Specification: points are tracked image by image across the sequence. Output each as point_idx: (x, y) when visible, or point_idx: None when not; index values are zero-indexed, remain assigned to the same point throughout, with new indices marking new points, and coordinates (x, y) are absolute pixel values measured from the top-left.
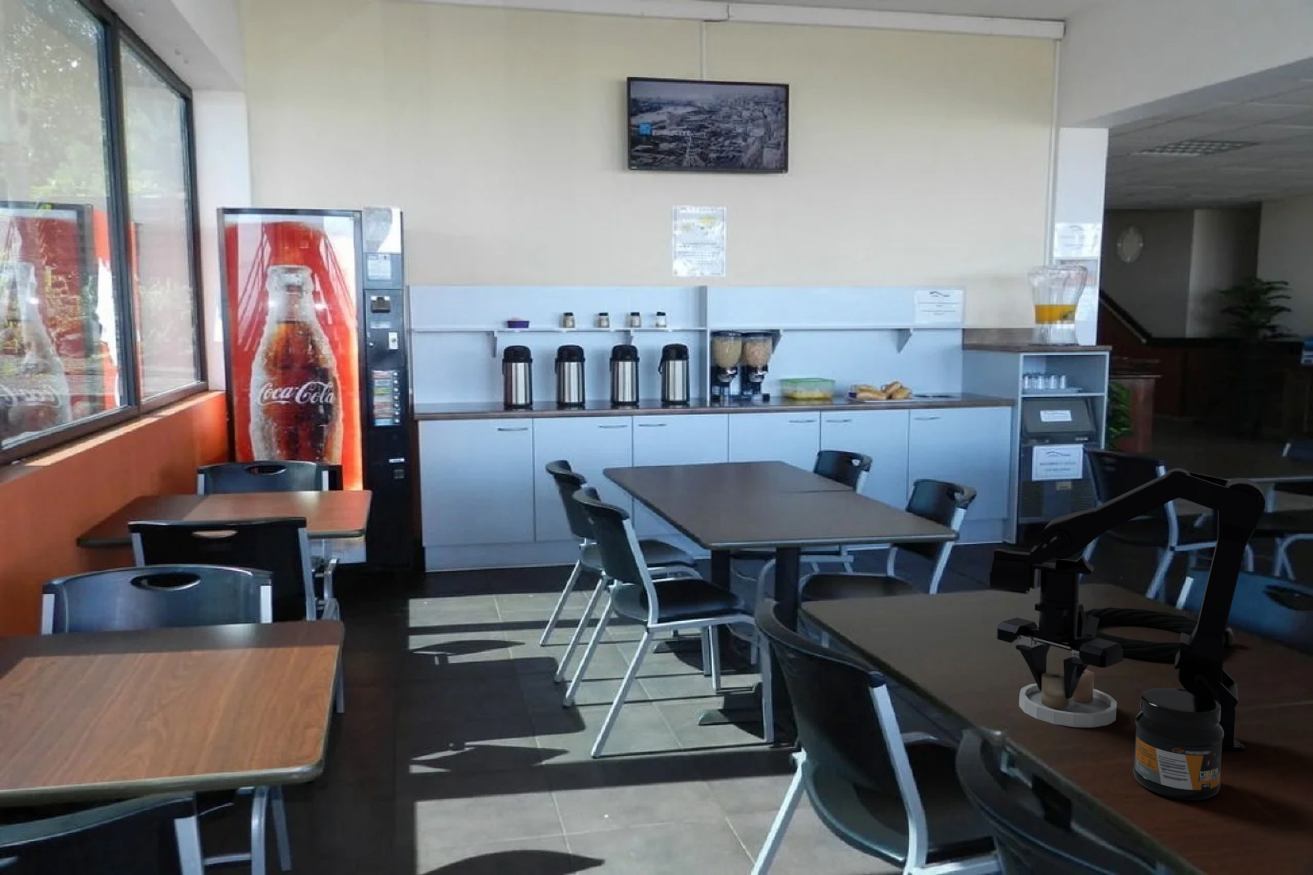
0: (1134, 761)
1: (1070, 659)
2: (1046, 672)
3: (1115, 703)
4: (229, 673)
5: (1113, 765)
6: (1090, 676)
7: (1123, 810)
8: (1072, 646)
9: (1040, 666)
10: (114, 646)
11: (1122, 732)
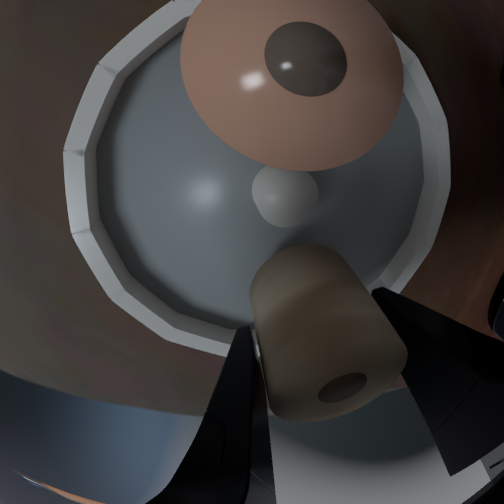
0: (498, 332)
1: (475, 459)
2: (273, 399)
3: (423, 75)
4: (77, 498)
5: (466, 316)
6: (400, 81)
7: None
8: (501, 496)
9: (264, 448)
10: (56, 493)
11: (456, 184)
